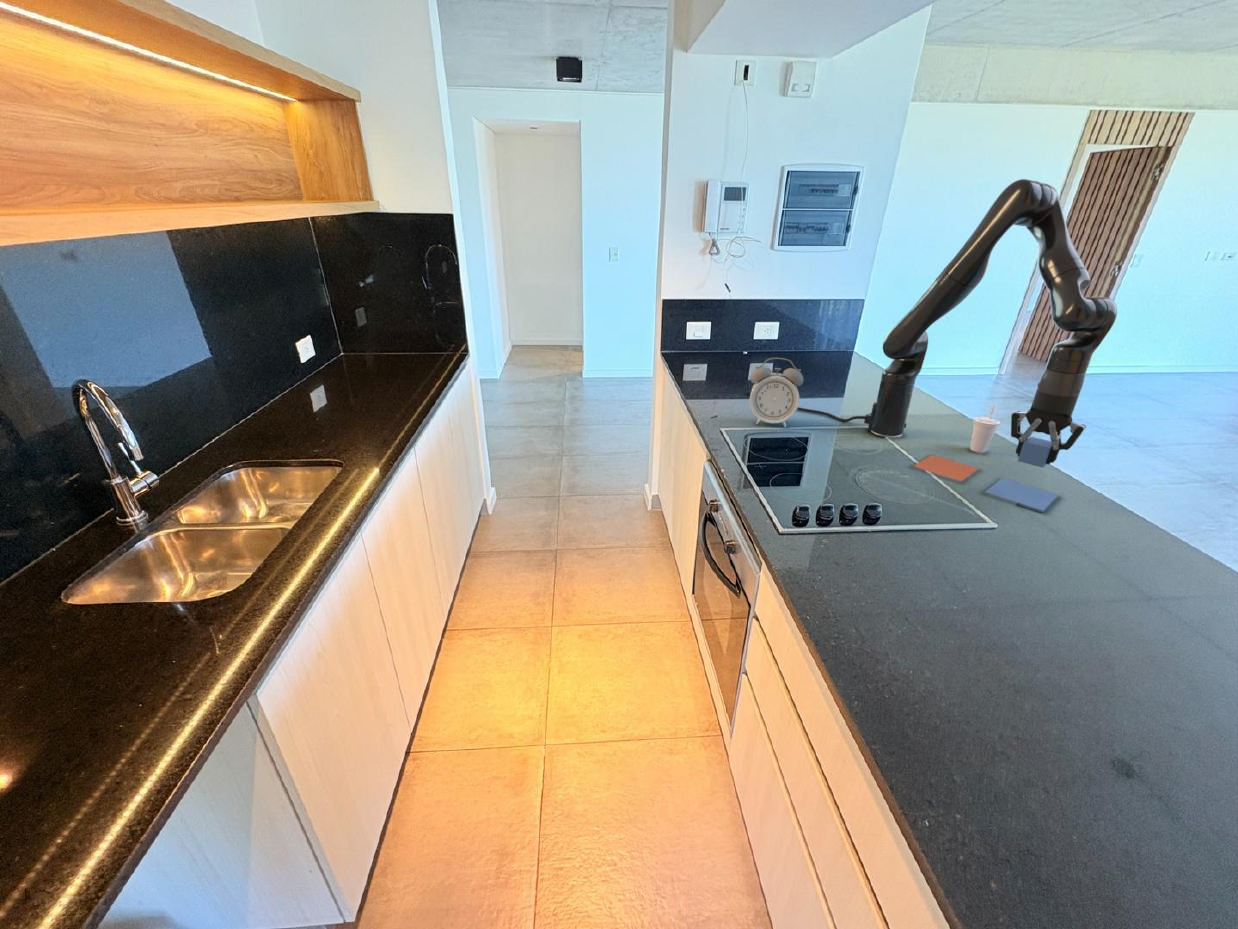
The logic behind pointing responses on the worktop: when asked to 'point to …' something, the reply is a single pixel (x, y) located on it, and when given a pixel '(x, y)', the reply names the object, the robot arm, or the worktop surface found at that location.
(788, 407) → the alarm clock
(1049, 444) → the blue block
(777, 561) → the worktop surface
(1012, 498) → the blue mat
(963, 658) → the worktop surface
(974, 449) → the smoothie
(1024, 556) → the worktop surface
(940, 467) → the terracotta mat
